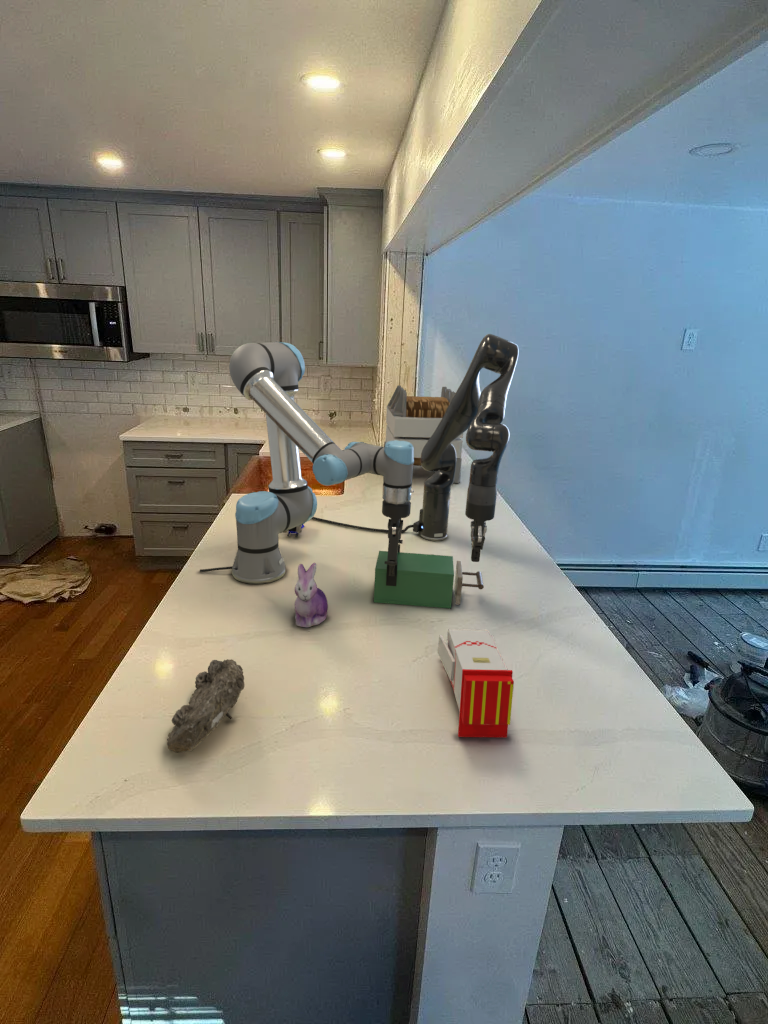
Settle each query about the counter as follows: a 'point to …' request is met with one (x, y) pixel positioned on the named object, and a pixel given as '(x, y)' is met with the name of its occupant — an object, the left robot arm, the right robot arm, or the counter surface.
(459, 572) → the drawer
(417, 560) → the cabinet
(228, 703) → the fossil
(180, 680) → the counter surface
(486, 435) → the right robot arm
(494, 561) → the counter surface
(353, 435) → the counter surface
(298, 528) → the figurine character
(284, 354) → the left robot arm
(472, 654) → the toy
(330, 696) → the counter surface
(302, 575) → the figurine
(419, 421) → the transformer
